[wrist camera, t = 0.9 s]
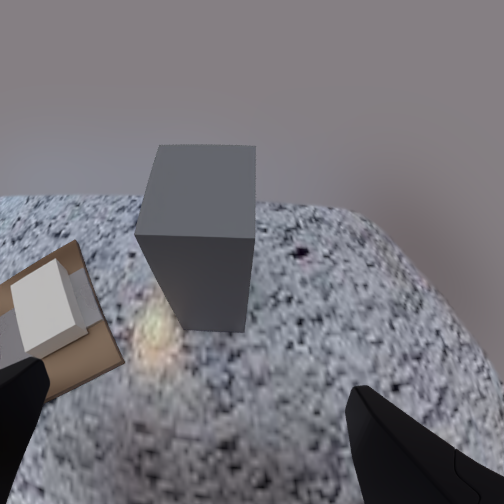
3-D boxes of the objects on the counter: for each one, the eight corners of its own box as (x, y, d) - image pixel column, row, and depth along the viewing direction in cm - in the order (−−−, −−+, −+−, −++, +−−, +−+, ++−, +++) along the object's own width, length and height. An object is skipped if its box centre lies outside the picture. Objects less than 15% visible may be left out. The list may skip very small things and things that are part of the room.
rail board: (125, 362, 21) (121, 360, 20) (-31, 437, 14) (-36, 436, 14) (78, 244, 25) (75, 239, 25) (-54, 329, 19) (-59, 326, 18)
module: (244, 332, 22) (255, 238, 11) (183, 329, 22) (134, 234, 11) (245, 270, 25) (255, 143, 14) (189, 268, 25) (159, 143, 14)
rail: (103, 320, 21) (101, 318, 21) (-46, 402, 15) (-49, 401, 15) (84, 269, 23) (82, 267, 23) (-55, 356, 17) (-58, 355, 17)
